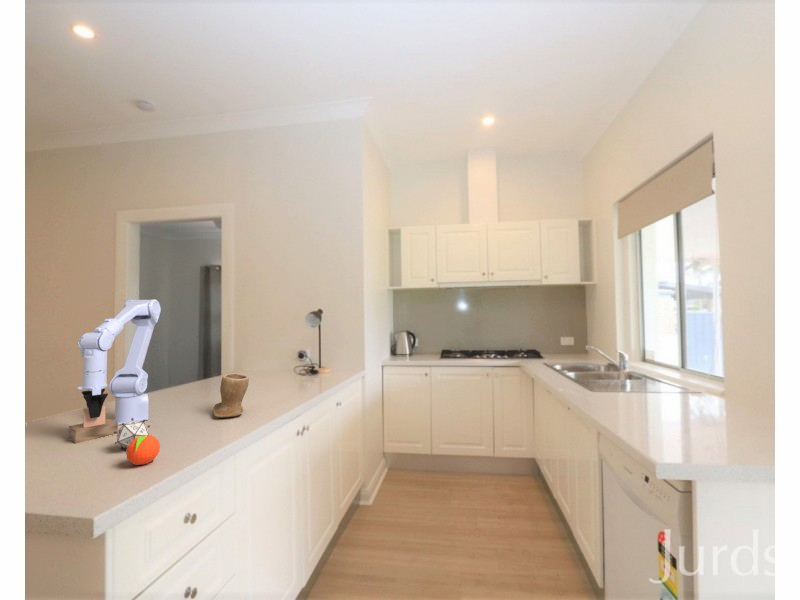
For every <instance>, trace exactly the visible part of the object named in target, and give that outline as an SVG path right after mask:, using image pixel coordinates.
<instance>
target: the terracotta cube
mask: <svg viewBox="0 0 800 600" xmlns="http://www.w3.org/2000/svg"><path fill="white" fill-rule="evenodd" d="M106 410H107V409H106V406H105V405H104V404H103V406H102V410H101V414H100V417H96V418H90V415H89V409H88V407H87V406H86V407H83V408H82V424H83V427H90V426H96V425H102V424H105V419H106Z"/></svg>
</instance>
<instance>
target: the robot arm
mask: <svg viewBox="0 0 800 600" xmlns="http://www.w3.org/2000/svg"><path fill="white" fill-rule="evenodd" d="M161 311H162V307H161V304H160V302H159V301H158V300H157V299H155V298H154V299H128V300H127V301H126V302H124V303H123V308H122V309H121V310H120V312H118V313H117V315H116V316H115V317H113V318H110V317H109V318H105V319H104V320H103V322H101V324H100V325H98V326H97V327H95V328H94V329H93V330H92V331H91V332H86V333H84V334H82V335H81V336H80V338H79V340H78V342H77V345H78V349H79V350H80V355H81V357H82V385H80V386H77V388H76V389H77V390H81V394H82V395H83V396H82V398H83V399H84V401H85V403H86V407H88V409H89V415H90V418H96V417H100V414H101V410H102V406H103V405H104V402H105V400H106V399H107V397H108V395H109V393H110V394H111V395H112V397H113V398H115V402H114V403H115V405H114V407H115V409H114V410H115V411H114V418H113V419H112V420H114V421H116V422H118V426H119V425H122V423H124V425H125V424H126V423H128V422H130V421H132V420H131V419H132V418H133V419H134V420H133V421H142V422H143V420H145V421H148V420H149V402H150V400H149V394H148V393H145V391H146V390H147V388H148V380H149V379H148V378H149V374H148V372H146V371H145V370H144V369H143V366H144V363H145V359H146V356H147V354H148V353H147V352H148V348H149V345H150V343H151V339H152V335H153V333H154V332H153V331H154V329H155V325H156V324H157V323H158V321H159V319H160V314H161ZM128 322H131V323H132V324H134V325H136V330H135V333H134V335H133V339H132V342H131V345H130V349H129V351H128V355H127V357H126V361H125V363H124V367H122V368H120V369H119V370H117V371H115V373H114V376H113V377H112V379H111V380H110V382H109V384H108V382H107V381H108V380H107V379H108V378H107V377H108V372H107V371H108V350H110V349H111V347H112V346H113V343H114V341H115V338H116V337H118V336H119V335H120V334H121V333H122V332H123V331H124V325H126V324H127V323H128ZM107 387H108V390H109V393H107V392H106V393H105V391H106V389H105V388H107ZM82 390H83V391H82Z"/></svg>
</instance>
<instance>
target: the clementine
mask: <svg viewBox="0 0 800 600" xmlns="http://www.w3.org/2000/svg"><path fill="white" fill-rule="evenodd" d="M151 435H152V434H151ZM151 435H150V434H149V435H143V436H139V437H137V438H135V439H134V440H133V441H132V442H131V443H130V444H129V446H128V448H126V458H127V460H128V461H129V462H130V463H131V464H133V465H136V466H139V465H140V466H143V465H147V464H149V463H150V462H152V461H153V460H154V459H156V457H157V456H158V454H159V453H160V451H161V450H160V449H161V444H160V441H159V439H158V438H157V437H155V436H154V435H152V436H151Z"/></svg>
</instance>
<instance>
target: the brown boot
mask: <svg viewBox="0 0 800 600" xmlns="http://www.w3.org/2000/svg"><path fill="white" fill-rule="evenodd" d="M249 380H250V378H249V376H247V375H246V374H241V373H233V372H231V373H225V374H224V375H223V376H222V378H221V381H220V388H219V389H220V390H219V392H220V398H221V401H220V402H218V403H216V404H214V407H213V416H215V418H231V417H237V416H240V415H242V414H243V413H244V408H243V406H242V402H243V399H244V397H245V394H246V392H247V390H248V386H249Z"/></svg>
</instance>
